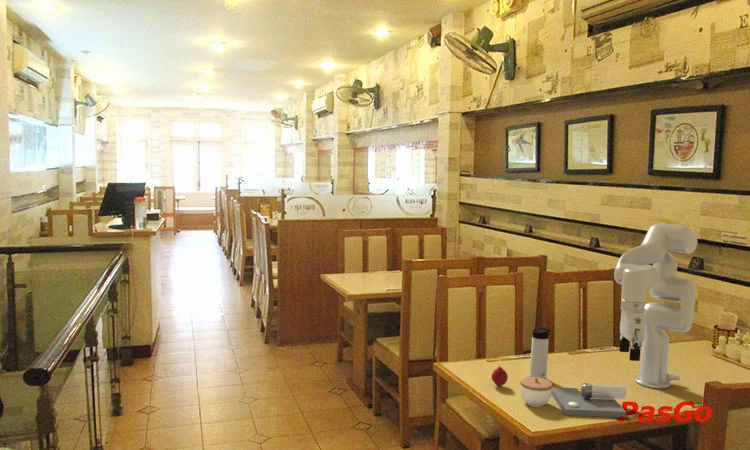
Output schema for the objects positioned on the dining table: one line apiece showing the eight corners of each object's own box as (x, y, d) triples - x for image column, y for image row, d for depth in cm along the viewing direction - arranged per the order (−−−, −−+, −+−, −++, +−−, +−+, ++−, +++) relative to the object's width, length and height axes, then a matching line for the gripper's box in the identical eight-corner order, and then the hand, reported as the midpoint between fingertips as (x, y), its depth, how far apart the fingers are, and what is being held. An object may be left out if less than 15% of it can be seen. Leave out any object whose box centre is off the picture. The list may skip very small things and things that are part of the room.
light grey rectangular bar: (582, 400, 212) (583, 386, 212) (579, 396, 216) (580, 383, 215) (625, 401, 212) (626, 388, 211) (622, 397, 215) (623, 384, 215)
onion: (507, 385, 231) (508, 364, 230) (505, 390, 225) (507, 369, 224) (492, 382, 233) (493, 362, 232) (490, 388, 227) (491, 367, 226)
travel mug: (547, 382, 235) (550, 331, 232) (530, 380, 236) (533, 330, 234) (546, 376, 241) (549, 327, 239) (529, 375, 242) (532, 326, 240)
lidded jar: (542, 412, 206) (544, 385, 205) (513, 403, 213) (515, 377, 212) (556, 403, 214) (557, 377, 213) (528, 395, 221) (529, 370, 220)
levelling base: (605, 394, 224) (605, 387, 224) (625, 417, 204) (626, 409, 204) (550, 392, 224) (550, 385, 224) (565, 415, 204) (565, 407, 204)
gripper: (655, 312, 194) (651, 365, 196) (634, 299, 211) (630, 348, 213) (631, 311, 194) (627, 364, 196) (612, 299, 212) (608, 347, 214)
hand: (629, 355), depth 205 cm, fingers open, 8 cm apart
